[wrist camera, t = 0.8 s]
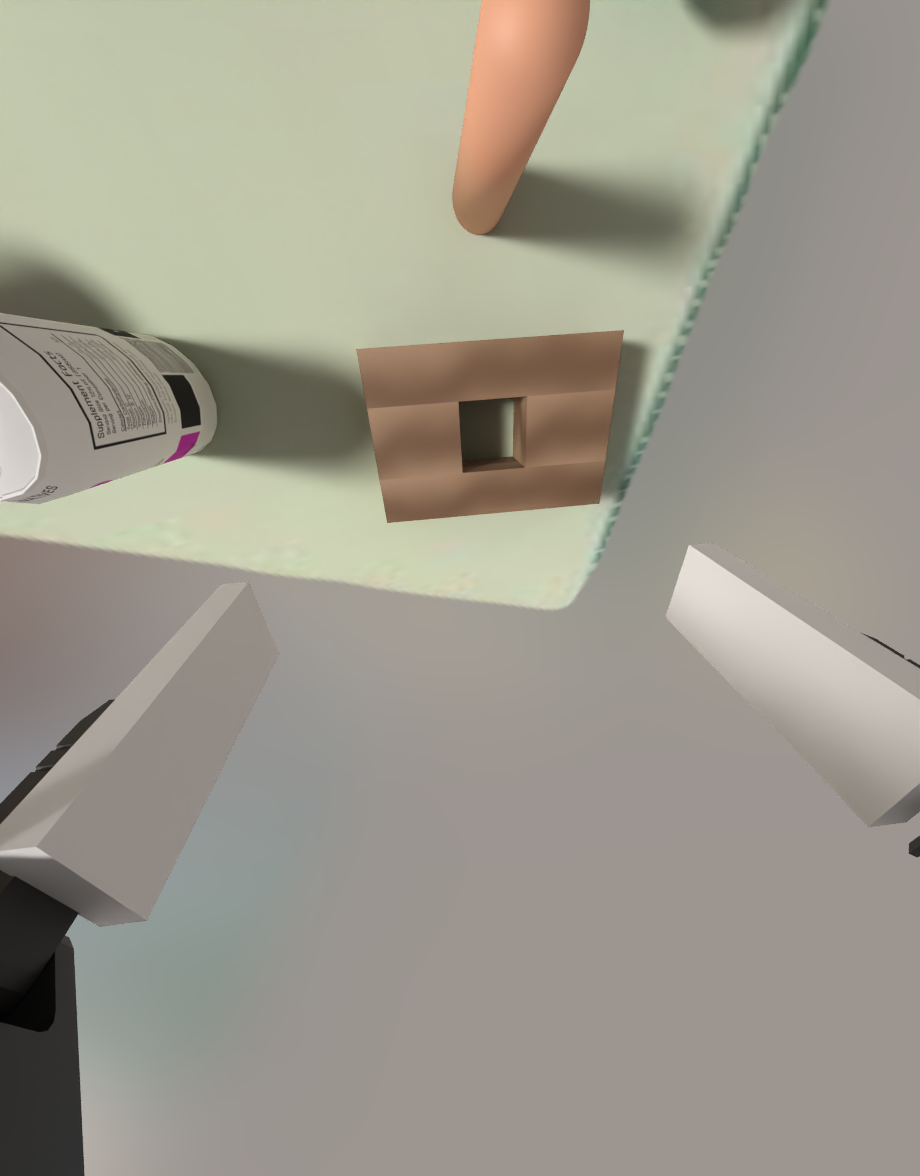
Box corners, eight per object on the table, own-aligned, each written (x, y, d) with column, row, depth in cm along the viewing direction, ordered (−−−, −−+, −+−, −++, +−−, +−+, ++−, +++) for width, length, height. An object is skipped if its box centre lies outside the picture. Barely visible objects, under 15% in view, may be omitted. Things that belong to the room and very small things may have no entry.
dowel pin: (450, 160, 22) (480, -87, 10) (505, 157, 23) (596, -91, 11) (454, 236, 24) (484, 98, 12) (505, 233, 24) (583, 94, 12)
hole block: (365, 353, 27) (356, 349, 23) (596, 336, 28) (623, 330, 24) (391, 505, 33) (387, 522, 29) (579, 489, 34) (599, 503, 30)
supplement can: (214, 470, 30) (62, 539, 18) (100, 425, 28) (-173, 466, 15) (230, 371, 27) (54, 366, 14) (100, 309, 25) (-252, 236, 12)
